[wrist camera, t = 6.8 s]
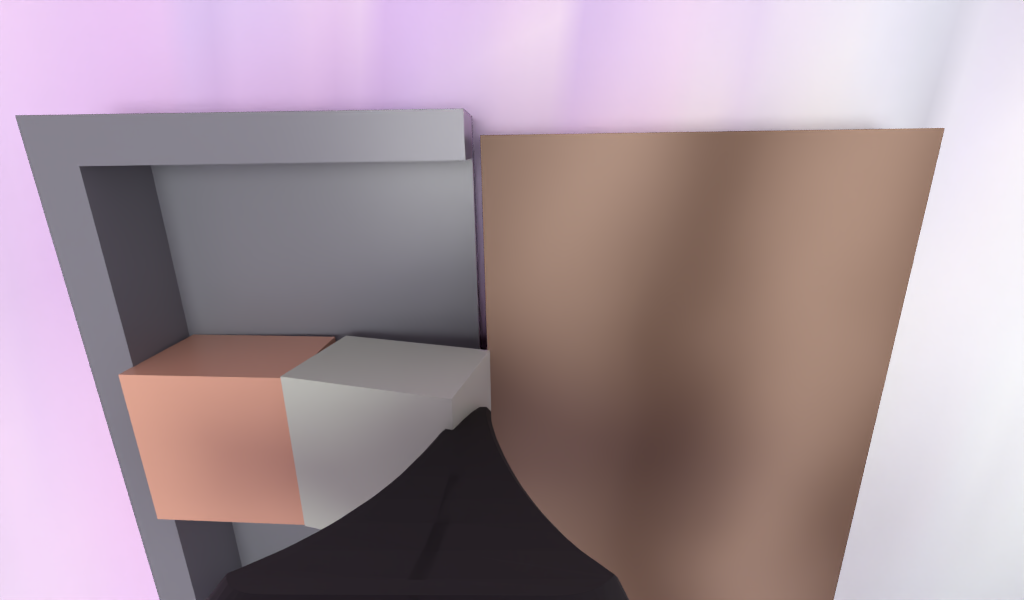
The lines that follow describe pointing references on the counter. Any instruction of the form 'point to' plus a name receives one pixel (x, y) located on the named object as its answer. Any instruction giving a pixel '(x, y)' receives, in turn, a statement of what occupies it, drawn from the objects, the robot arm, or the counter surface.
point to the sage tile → (373, 415)
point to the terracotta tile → (219, 427)
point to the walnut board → (699, 342)
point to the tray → (252, 258)
